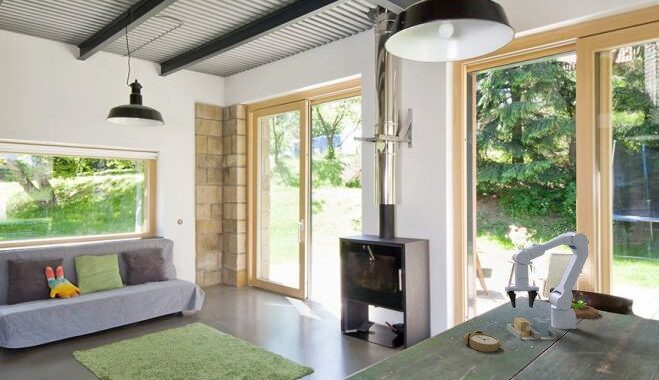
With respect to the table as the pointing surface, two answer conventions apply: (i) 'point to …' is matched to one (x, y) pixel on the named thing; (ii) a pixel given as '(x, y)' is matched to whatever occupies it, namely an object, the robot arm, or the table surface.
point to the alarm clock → (481, 341)
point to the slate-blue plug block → (541, 326)
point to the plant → (583, 308)
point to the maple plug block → (522, 326)
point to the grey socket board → (531, 333)
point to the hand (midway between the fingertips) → (522, 307)
